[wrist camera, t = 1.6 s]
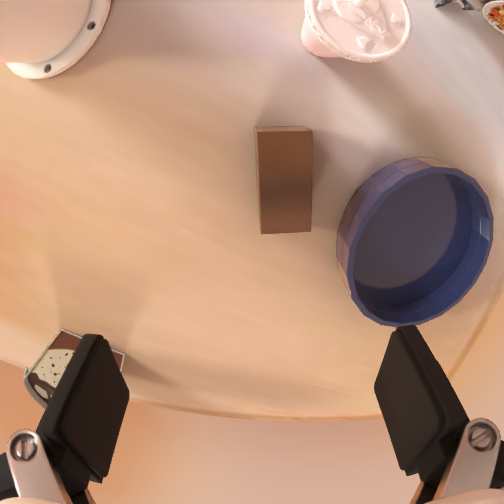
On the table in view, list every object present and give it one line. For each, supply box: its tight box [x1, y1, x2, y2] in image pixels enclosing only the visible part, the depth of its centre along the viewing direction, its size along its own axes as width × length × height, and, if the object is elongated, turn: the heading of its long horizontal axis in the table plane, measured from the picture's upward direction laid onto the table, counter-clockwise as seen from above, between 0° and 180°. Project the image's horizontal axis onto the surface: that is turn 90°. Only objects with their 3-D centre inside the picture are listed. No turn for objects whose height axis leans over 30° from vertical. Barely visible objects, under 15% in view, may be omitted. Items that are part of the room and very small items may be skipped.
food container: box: [23, 329, 125, 409], centre depth 32 cm, size 12×6×10 cm, turn 68°
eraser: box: [255, 126, 312, 234], centre depth 25 cm, size 8×4×4 cm, turn 3°
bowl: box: [336, 157, 493, 327], centre depth 28 cm, size 17×17×4 cm
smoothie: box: [301, 0, 412, 63], centre depth 15 cm, size 6×6×14 cm
